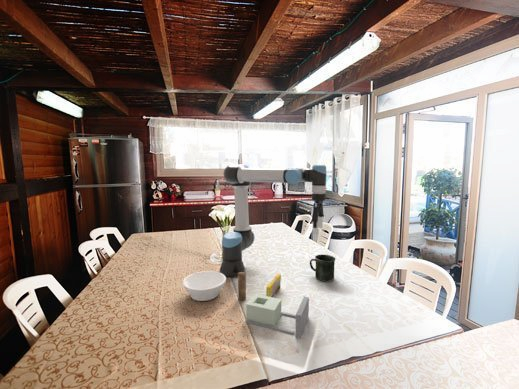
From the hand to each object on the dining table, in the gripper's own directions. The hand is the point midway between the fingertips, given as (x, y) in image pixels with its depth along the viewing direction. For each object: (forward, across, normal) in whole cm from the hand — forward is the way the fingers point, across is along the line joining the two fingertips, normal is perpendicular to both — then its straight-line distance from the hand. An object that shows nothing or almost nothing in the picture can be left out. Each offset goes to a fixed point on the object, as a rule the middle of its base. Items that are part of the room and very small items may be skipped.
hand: (317, 230), depth 144 cm
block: (+26, -50, +11) cm, 58 cm away
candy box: (+28, -29, +15) cm, 43 cm away
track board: (+28, -50, +6) cm, 57 cm away
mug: (+28, +1, -3) cm, 28 cm away
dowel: (+28, -41, +27) cm, 56 cm away
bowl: (+28, -42, +47) cm, 69 cm away
